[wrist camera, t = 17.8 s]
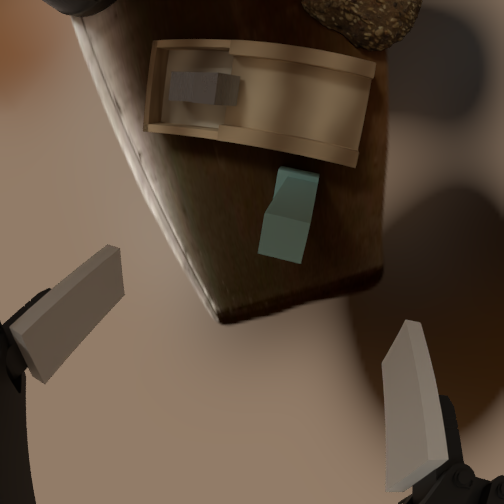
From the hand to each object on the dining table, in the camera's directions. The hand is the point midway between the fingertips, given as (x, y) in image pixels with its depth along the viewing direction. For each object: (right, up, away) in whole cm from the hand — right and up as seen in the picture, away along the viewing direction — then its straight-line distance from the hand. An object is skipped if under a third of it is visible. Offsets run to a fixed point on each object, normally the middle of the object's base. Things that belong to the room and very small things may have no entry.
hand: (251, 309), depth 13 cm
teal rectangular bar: (+5, +9, +19) cm, 21 cm away
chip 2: (-3, +18, +13) cm, 22 cm away
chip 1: (-6, +19, +14) cm, 25 cm away
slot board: (+1, +18, +15) cm, 24 cm away
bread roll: (+11, +28, +8) cm, 31 cm away
